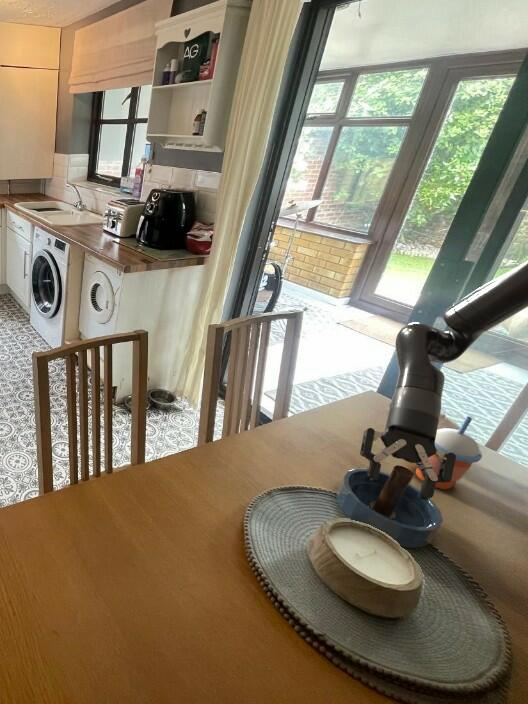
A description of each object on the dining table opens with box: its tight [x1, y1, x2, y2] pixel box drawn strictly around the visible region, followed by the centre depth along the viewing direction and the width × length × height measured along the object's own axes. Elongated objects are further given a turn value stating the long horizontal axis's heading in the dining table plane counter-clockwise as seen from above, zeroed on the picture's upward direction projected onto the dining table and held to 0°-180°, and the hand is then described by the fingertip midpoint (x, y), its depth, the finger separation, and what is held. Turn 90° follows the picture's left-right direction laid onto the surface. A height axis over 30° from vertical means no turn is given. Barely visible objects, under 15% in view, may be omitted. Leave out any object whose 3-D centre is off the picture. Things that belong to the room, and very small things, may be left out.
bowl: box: [336, 468, 444, 548], centre depth 86 cm, size 16×16×6 cm
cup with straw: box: [415, 416, 483, 490], centre depth 92 cm, size 9×9×18 cm
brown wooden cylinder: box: [369, 464, 415, 521], centre depth 84 cm, size 4×4×12 cm
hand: (398, 489), depth 82 cm, fingers open, 7 cm apart
